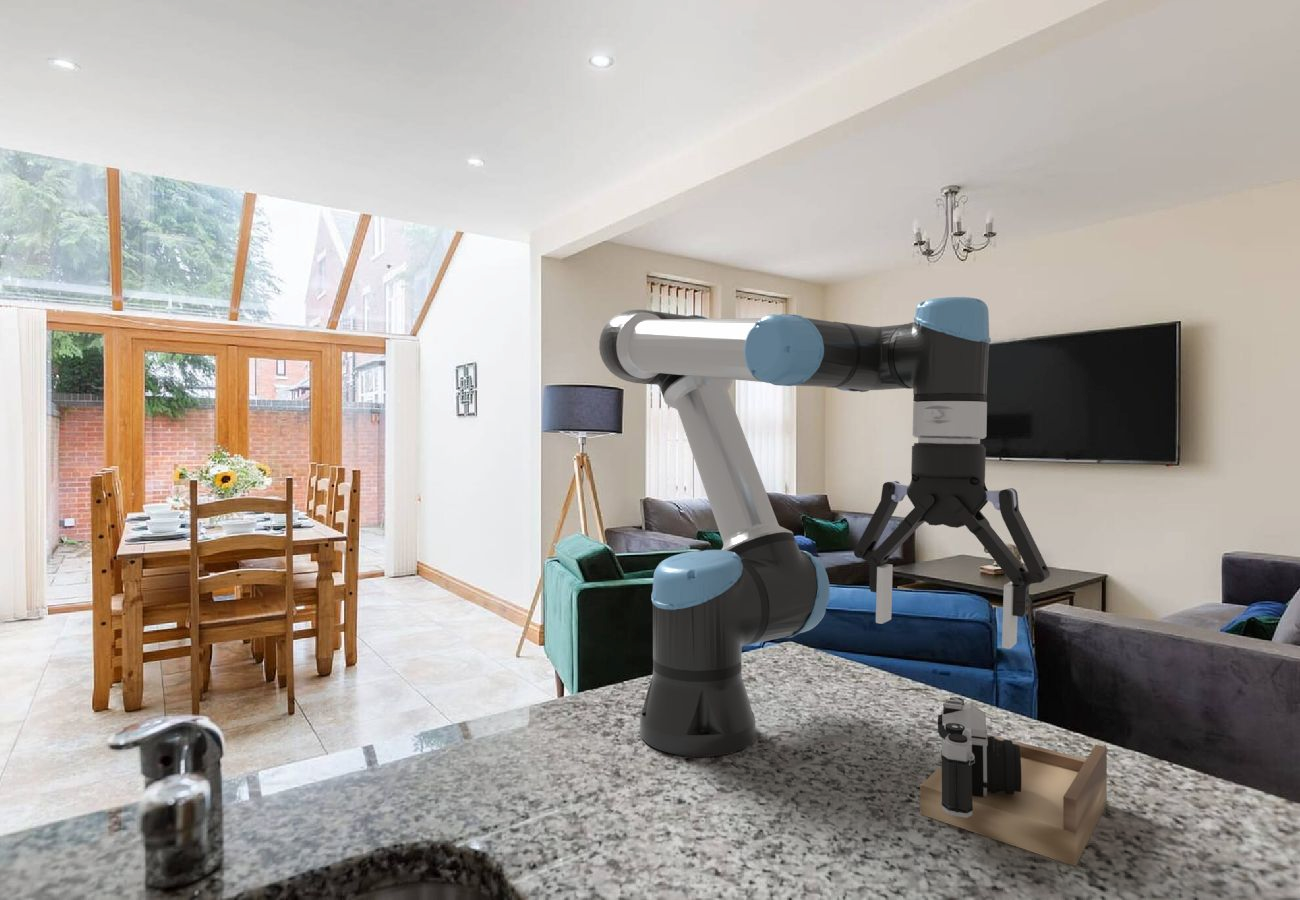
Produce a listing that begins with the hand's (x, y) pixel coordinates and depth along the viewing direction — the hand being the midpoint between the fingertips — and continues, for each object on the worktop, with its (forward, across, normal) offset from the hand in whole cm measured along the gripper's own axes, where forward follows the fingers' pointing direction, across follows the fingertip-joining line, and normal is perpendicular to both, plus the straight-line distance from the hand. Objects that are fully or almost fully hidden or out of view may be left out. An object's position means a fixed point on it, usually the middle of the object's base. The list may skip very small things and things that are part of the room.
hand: (942, 633), depth 80 cm
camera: (+14, +6, -5) cm, 16 cm away
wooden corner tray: (+17, +8, 0) cm, 19 cm away
